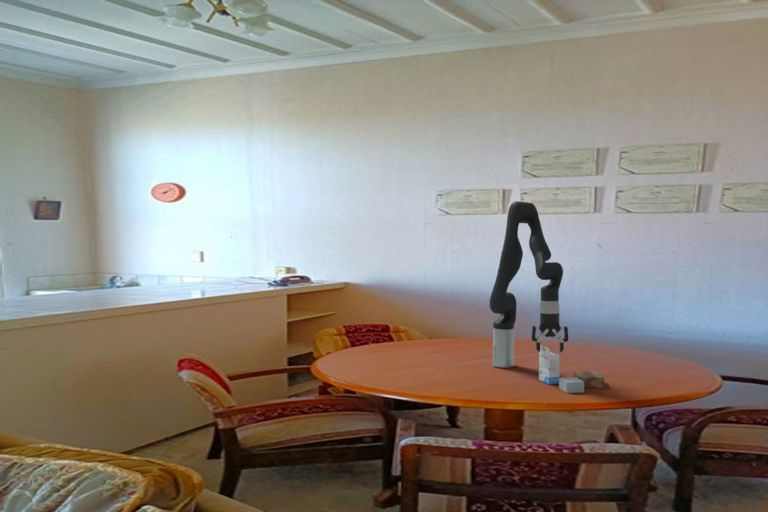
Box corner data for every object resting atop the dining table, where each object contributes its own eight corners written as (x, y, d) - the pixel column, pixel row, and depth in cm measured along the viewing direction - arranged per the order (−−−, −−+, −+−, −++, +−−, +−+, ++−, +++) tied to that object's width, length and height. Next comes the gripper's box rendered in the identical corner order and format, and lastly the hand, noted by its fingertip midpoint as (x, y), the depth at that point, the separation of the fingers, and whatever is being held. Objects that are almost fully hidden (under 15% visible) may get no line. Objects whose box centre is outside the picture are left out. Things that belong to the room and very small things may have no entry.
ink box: (560, 384, 244) (560, 347, 243) (548, 384, 242) (549, 348, 242) (549, 379, 252) (549, 343, 251) (538, 379, 251) (538, 344, 250)
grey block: (566, 392, 230) (566, 382, 230) (559, 388, 237) (559, 377, 237) (584, 392, 231) (584, 381, 231) (576, 387, 238) (576, 377, 238)
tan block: (577, 387, 239) (577, 376, 239) (573, 380, 249) (573, 371, 249) (603, 387, 237) (604, 377, 237) (598, 381, 247) (598, 371, 247)
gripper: (532, 312, 243) (532, 353, 244) (569, 313, 241) (569, 353, 242) (530, 310, 251) (531, 349, 251) (566, 310, 249) (566, 350, 249)
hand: (549, 351), depth 247 cm, fingers open, 8 cm apart
